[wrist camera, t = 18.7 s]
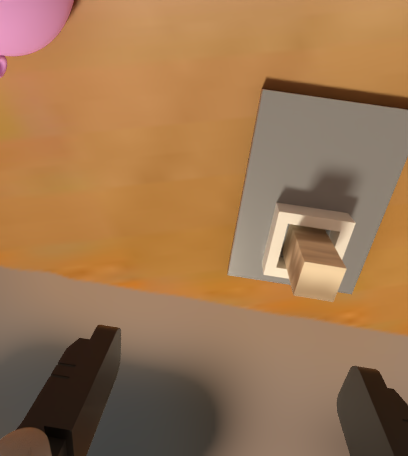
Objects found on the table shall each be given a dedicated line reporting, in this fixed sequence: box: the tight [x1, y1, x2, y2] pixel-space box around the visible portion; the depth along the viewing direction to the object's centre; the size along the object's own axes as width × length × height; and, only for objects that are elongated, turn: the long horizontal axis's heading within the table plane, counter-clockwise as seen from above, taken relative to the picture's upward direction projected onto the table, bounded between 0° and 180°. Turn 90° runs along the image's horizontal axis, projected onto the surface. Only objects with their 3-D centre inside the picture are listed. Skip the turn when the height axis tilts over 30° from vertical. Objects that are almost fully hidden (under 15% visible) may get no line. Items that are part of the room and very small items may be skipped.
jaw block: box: [282, 224, 347, 302], centre depth 39 cm, size 4×4×10 cm
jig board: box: [228, 89, 408, 294], centre depth 41 cm, size 25×18×4 cm
